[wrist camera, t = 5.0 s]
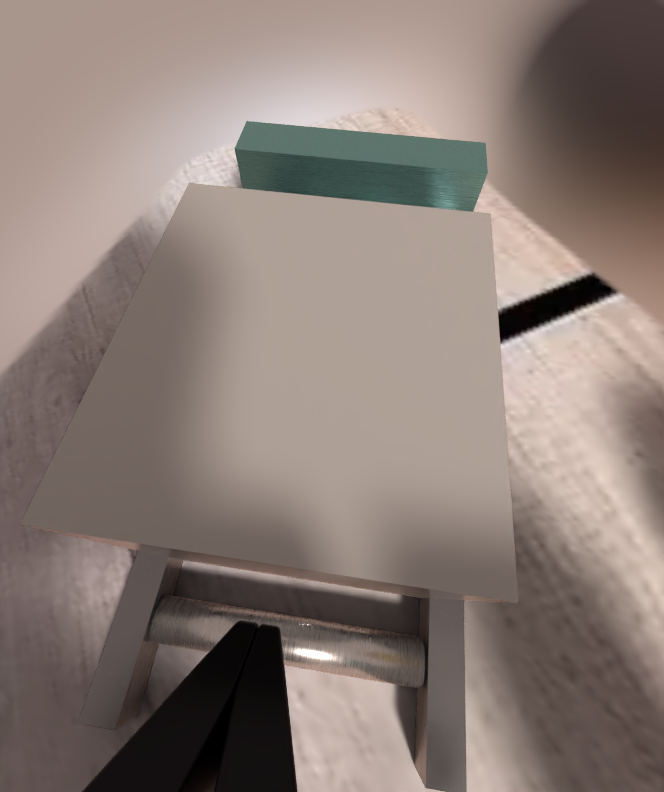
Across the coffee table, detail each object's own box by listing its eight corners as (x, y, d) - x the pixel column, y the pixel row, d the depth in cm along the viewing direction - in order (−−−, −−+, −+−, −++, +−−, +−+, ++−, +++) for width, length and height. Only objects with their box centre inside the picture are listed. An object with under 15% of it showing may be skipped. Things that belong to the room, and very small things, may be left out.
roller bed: (450, 242, 24) (485, 142, 19) (450, 772, 13) (540, 904, 7) (264, 222, 25) (246, 121, 19) (104, 709, 13) (-46, 787, 8)
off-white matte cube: (419, 597, 14) (518, 603, 6) (174, 558, 14) (19, 524, 7) (427, 362, 18) (490, 213, 11) (241, 339, 19) (189, 182, 12)
